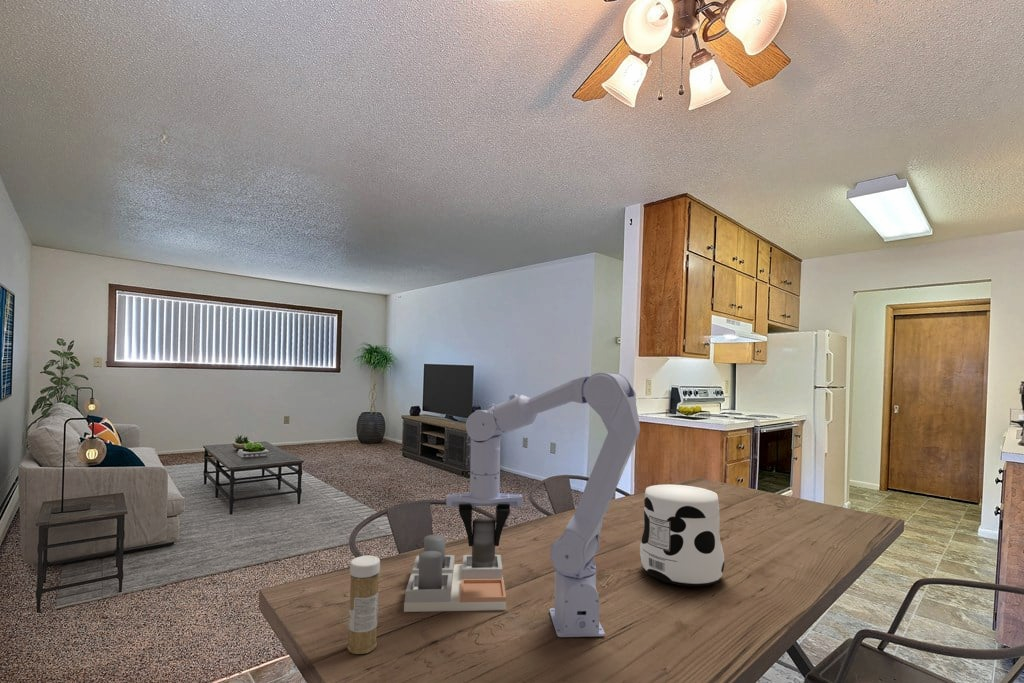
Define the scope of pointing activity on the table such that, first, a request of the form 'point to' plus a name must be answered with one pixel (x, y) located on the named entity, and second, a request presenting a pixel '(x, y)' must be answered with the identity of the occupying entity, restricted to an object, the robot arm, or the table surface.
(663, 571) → the milk container
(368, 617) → the sprinkles bottle
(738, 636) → the table surface
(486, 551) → the dark gray cylinder
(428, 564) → the white cylinder holder tray
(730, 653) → the table surface
